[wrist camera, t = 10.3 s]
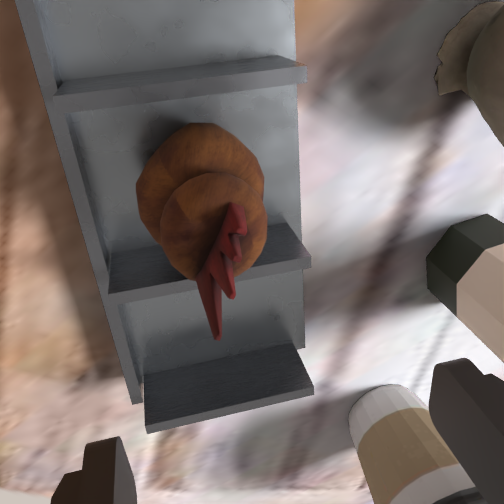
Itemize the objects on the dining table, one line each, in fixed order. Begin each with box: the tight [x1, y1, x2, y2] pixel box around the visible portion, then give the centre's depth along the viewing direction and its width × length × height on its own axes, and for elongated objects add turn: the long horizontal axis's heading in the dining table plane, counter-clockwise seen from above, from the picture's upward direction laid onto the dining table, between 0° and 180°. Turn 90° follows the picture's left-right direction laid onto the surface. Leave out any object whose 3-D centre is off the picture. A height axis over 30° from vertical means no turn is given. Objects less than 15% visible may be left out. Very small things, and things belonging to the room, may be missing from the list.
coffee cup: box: [348, 384, 488, 504], centre depth 40 cm, size 11×11×15 cm
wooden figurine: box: [136, 123, 268, 341], centre depth 23 cm, size 7×6×15 cm
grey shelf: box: [15, 0, 314, 434], centre depth 27 cm, size 14×33×6 cm, turn 5°
